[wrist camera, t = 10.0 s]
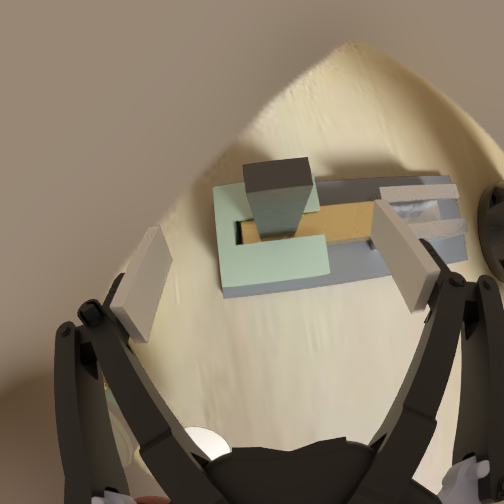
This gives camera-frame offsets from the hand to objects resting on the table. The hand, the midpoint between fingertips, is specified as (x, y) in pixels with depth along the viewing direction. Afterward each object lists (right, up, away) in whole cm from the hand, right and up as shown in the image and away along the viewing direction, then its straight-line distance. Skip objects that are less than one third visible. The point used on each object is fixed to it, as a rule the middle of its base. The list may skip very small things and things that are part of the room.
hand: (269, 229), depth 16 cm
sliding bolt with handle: (+5, +1, +10) cm, 12 cm away
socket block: (+1, 0, +12) cm, 12 cm away
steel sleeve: (+16, +2, +11) cm, 20 cm away
